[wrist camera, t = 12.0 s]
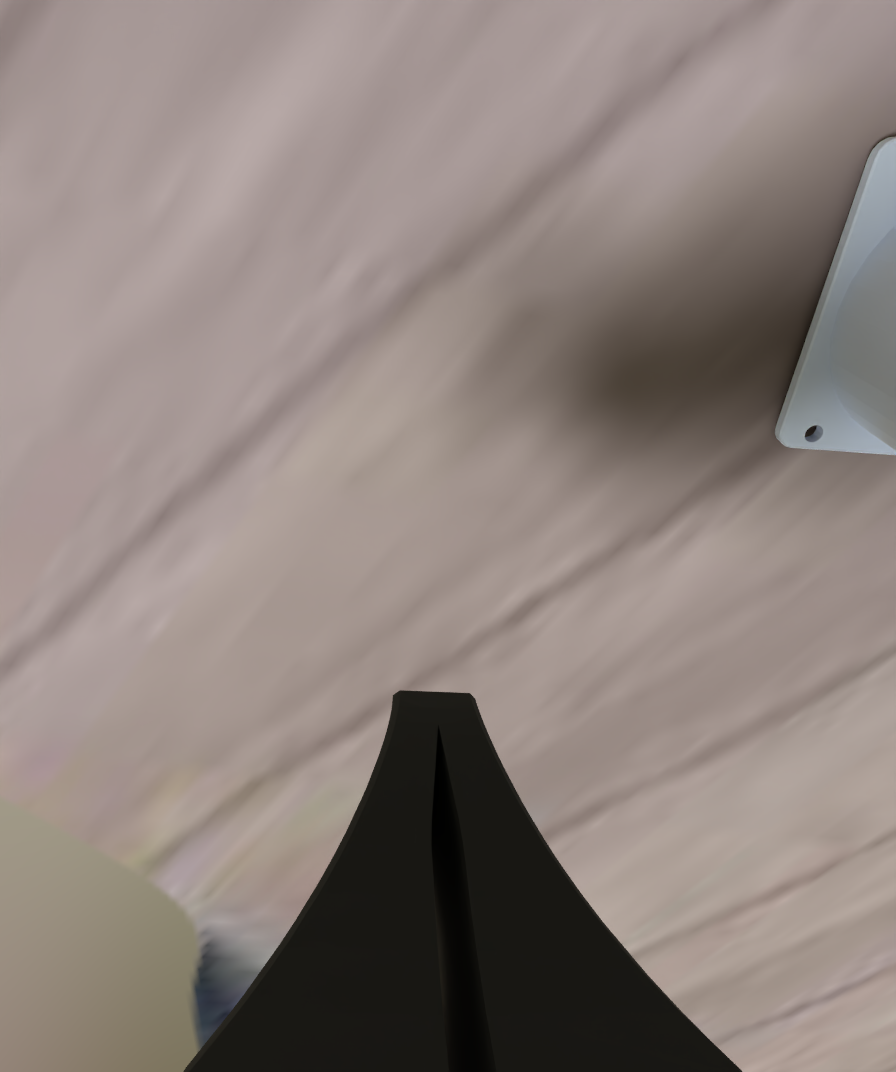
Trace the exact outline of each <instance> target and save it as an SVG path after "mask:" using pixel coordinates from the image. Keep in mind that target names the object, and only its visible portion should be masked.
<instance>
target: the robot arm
mask: <svg viewBox="0 0 896 1072" xmlns="http://www.w3.org/2000/svg"><path fill="white" fill-rule="evenodd" d="M815 425H817V427H816V430H815V432H814V433H813V434H812V435H810V436H808V437H805V433H806V431H807V430H808V429H809V428H810V427H812V426H815ZM775 435H776V438H777V439H778V440H779V441H780V442H781V443H782V444H783V445H784V446H786V447H790V448H800V449H814V450H828V451H842V452H857V453H871V454H885V455H896V137H888V138H886V139H884V140H882V141H881V142H879V143H878V144H877V145H876V146H875V147H874V148H873V150H872V152H871V153H870V155H869V157H868V160H867V163H866V166H865V169H864V172H863V174H862V177H861V180H860V183H859V186H858V189H857V192H856V195H855V198H854V201H853V204H852V206H851V209H850V212H849V215H848V218H847V221H846V224H845V227H844V230H843V233H842V236H841V238H840V241H839V244H838V247H837V250H836V253H835V256H834V259H833V262H832V265H831V268H830V270H829V273H828V276H827V279H826V282H825V285H824V288H823V291H822V294H821V297H820V300H819V302H818V305H817V308H816V311H815V314H814V317H813V320H812V323H811V326H810V329H809V331H808V334H807V337H806V340H805V343H804V346H803V349H802V352H801V355H800V358H799V361H798V363H797V366H796V369H795V372H794V375H793V378H792V381H791V384H790V387H789V390H788V393H787V395H786V398H785V401H784V404H783V407H782V410H781V413H780V416H779V419H778V422H777V425H776V428H775ZM184 1072H742V1071H741V1070H740V1069H739V1068H738V1067H737V1066H736V1065H735V1064H734V1063H733V1062H732V1061H731V1060H730V1059H729V1058H728V1057H727V1056H726V1055H725V1054H724V1053H723V1052H722V1051H721V1050H720V1049H719V1048H718V1047H717V1046H715V1045H714V1044H713V1043H712V1042H711V1041H710V1040H709V1039H708V1038H707V1037H706V1036H705V1035H704V1034H703V1033H702V1032H701V1031H700V1030H699V1029H698V1028H697V1027H696V1026H695V1025H694V1024H693V1023H692V1022H691V1021H690V1020H689V1019H688V1018H687V1017H686V1016H685V1015H684V1014H683V1013H682V1012H681V1011H680V1009H679V1008H678V1007H677V1006H676V1005H675V1004H674V1003H673V1002H672V1001H671V1000H670V999H669V998H668V997H667V995H666V994H665V993H664V992H663V991H662V990H661V989H660V988H659V987H658V986H657V985H656V984H655V983H654V981H653V980H652V979H651V978H650V977H649V976H648V975H647V974H646V973H645V971H644V970H643V969H642V968H641V967H640V966H639V964H638V963H637V962H636V961H635V960H634V958H633V957H632V956H631V955H630V954H629V952H628V951H627V950H626V949H625V948H624V947H623V945H622V944H621V943H620V942H619V941H618V939H617V938H616V937H615V936H614V935H613V934H612V932H611V931H610V930H609V929H608V928H607V926H606V925H605V924H604V923H603V922H602V920H601V919H600V918H599V916H598V915H597V914H596V912H595V911H594V910H593V909H592V907H591V906H590V905H589V903H588V902H587V901H586V899H585V898H584V897H583V895H582V894H581V893H580V891H579V890H578V889H577V887H576V886H575V884H574V883H573V881H572V880H571V879H570V877H569V876H568V874H567V873H566V872H565V870H564V869H563V867H562V866H561V864H560V863H559V861H558V860H557V858H556V857H555V855H554V854H553V852H552V851H551V849H550V848H549V846H548V845H547V843H546V841H545V840H544V838H543V837H542V835H541V833H540V832H539V830H538V828H537V827H536V825H535V823H534V822H533V820H532V818H531V817H530V815H529V813H528V812H527V810H526V808H525V806H524V805H523V803H522V801H521V799H520V797H519V795H518V794H517V792H516V790H515V788H514V786H513V784H512V782H511V780H510V778H509V777H508V775H507V773H506V771H505V769H504V767H503V765H502V763H501V761H500V759H499V757H498V755H497V752H496V750H495V748H494V746H493V744H492V741H491V739H490V737H489V735H488V732H487V730H486V728H485V725H484V723H483V720H482V718H481V715H480V712H479V709H478V707H477V703H476V700H475V698H474V697H473V696H472V695H471V694H470V693H450V692H425V691H399V692H397V693H396V694H394V695H393V702H392V710H391V715H390V720H389V725H388V728H387V732H386V735H385V739H384V742H383V745H382V748H381V751H380V754H379V757H378V759H377V762H376V765H375V767H374V770H373V772H372V775H371V778H370V780H369V783H368V785H367V788H366V790H365V792H364V795H363V797H362V799H361V801H360V803H359V806H358V808H357V810H356V812H355V814H354V816H353V818H352V821H351V823H350V825H349V827H348V829H347V831H346V833H345V835H344V837H343V839H342V841H341V843H340V845H339V847H338V849H337V851H336V853H335V854H334V856H333V858H332V860H331V862H330V864H329V865H328V867H327V869H326V871H325V872H324V874H323V876H322V878H321V880H320V881H319V883H318V885H317V886H316V888H315V890H314V891H313V893H312V895H311V896H310V898H309V899H308V901H307V903H306V904H305V906H304V908H303V909H302V911H301V912H300V914H299V916H298V917H297V919H296V921H295V922H294V924H293V925H292V927H291V928H290V930H289V931H288V933H287V934H286V936H285V937H284V939H283V940H282V942H281V943H280V945H279V946H278V948H277V949H276V950H275V952H274V953H273V955H272V956H271V957H270V959H269V960H268V962H267V963H266V964H265V966H264V967H263V969H262V970H261V972H260V973H259V974H258V976H257V977H256V979H255V980H254V981H253V983H252V984H251V986H250V987H249V988H248V990H247V991H246V993H245V994H244V995H243V997H242V998H241V999H240V1001H239V1002H238V1003H237V1005H236V1006H235V1007H234V1009H233V1010H232V1011H231V1012H230V1014H229V1015H228V1016H227V1017H226V1019H225V1020H224V1021H223V1022H222V1024H221V1025H220V1026H219V1027H218V1028H217V1030H216V1031H215V1032H214V1033H213V1035H212V1036H211V1037H210V1038H209V1040H208V1041H207V1042H206V1043H205V1045H204V1046H203V1047H202V1048H201V1050H200V1051H199V1052H198V1053H197V1055H196V1056H195V1057H194V1058H193V1060H192V1061H191V1062H190V1063H189V1065H188V1066H187V1067H186V1069H185V1070H184Z"/></svg>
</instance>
